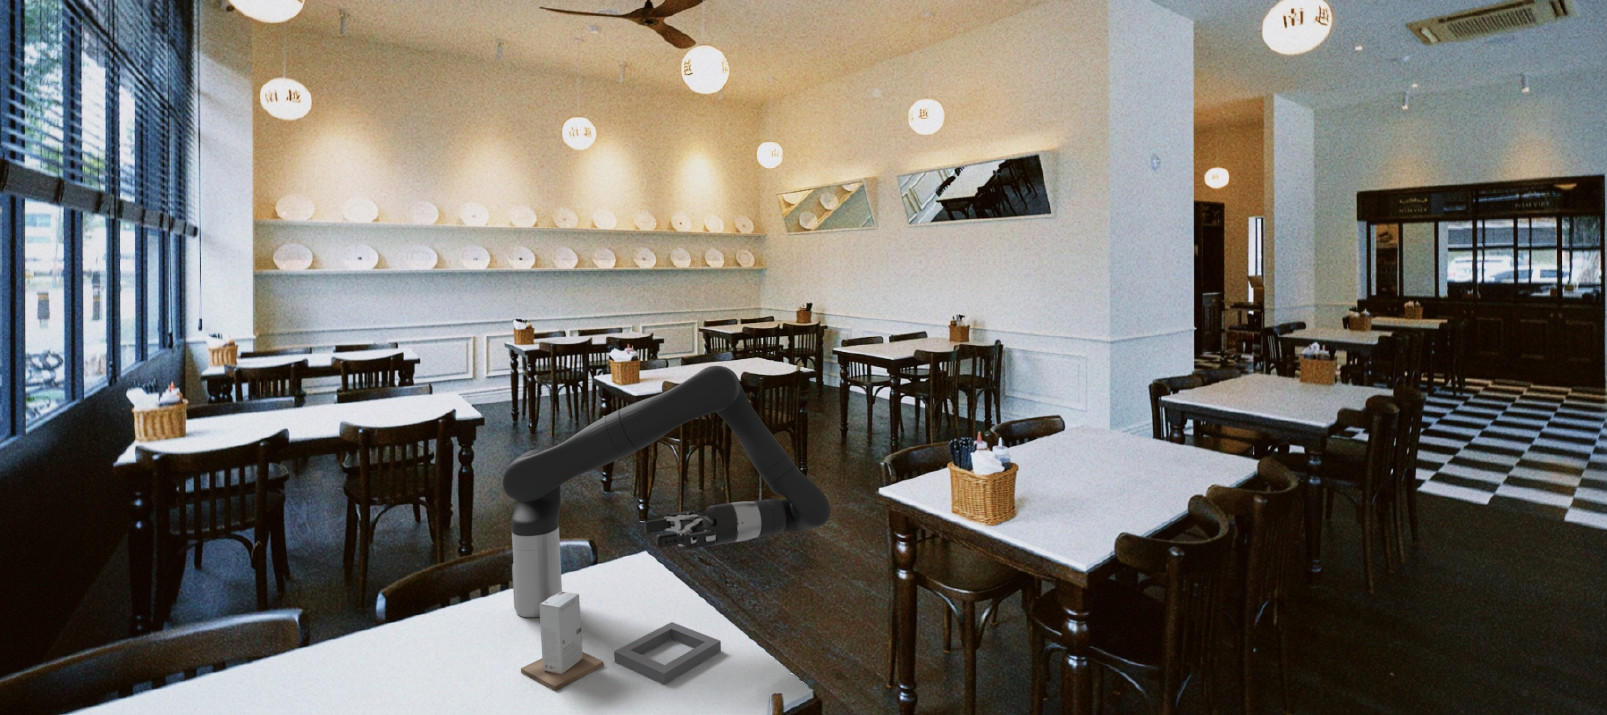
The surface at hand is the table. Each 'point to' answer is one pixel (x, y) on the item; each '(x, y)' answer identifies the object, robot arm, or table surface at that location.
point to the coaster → (561, 680)
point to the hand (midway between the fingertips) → (651, 534)
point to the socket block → (666, 673)
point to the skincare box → (561, 632)
